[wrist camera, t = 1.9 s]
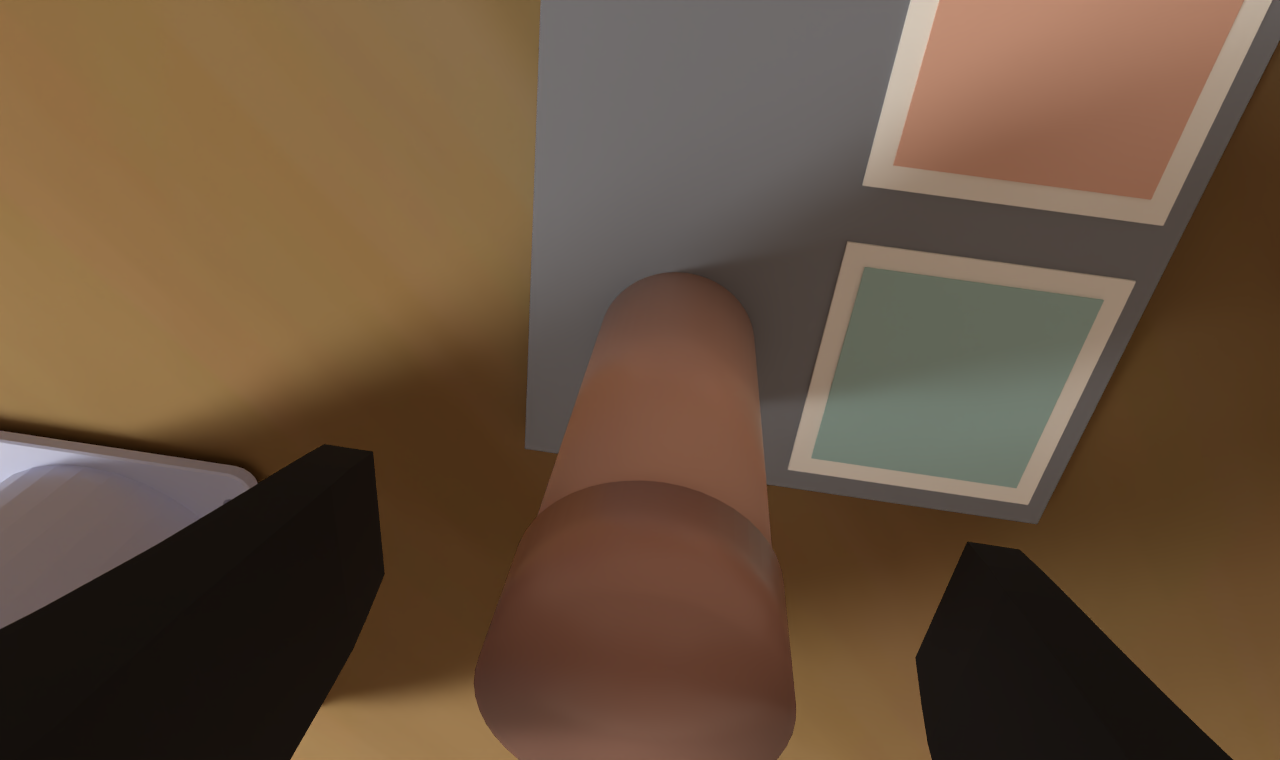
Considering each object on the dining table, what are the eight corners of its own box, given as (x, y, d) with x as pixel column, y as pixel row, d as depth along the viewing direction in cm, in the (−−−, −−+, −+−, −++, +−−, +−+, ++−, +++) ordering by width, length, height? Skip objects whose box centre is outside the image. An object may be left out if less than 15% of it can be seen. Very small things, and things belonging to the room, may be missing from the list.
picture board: (1026, 506, 16) (1039, 527, 15) (531, 433, 16) (523, 451, 16) (1356, -175, 10) (1397, -184, 9) (559, -268, 10) (549, -282, 10)
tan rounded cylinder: (743, 424, 15) (761, 822, 8) (588, 402, 15) (474, 775, 8) (775, 279, 13) (831, 620, 6) (601, 255, 13) (472, 566, 6)
